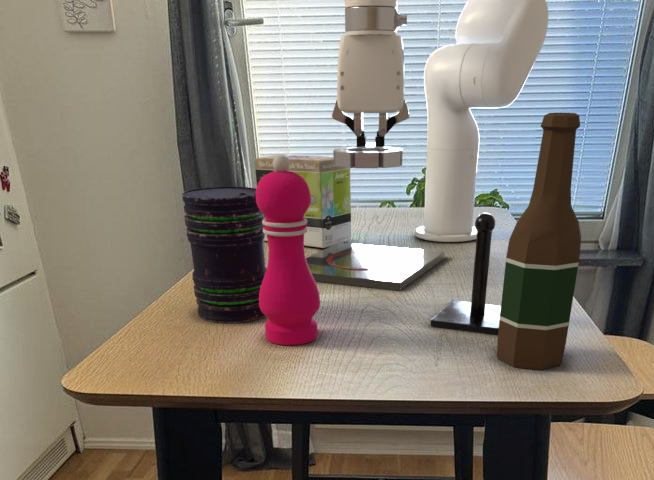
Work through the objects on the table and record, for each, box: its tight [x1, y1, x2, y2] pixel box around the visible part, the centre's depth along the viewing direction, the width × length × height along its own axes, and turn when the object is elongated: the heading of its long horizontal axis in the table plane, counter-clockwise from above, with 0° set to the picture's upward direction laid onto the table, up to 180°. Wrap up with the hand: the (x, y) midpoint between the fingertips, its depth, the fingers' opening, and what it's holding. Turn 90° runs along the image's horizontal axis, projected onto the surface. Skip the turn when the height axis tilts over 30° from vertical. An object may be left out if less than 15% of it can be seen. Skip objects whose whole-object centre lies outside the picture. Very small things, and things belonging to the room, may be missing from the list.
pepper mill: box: [256, 154, 321, 346], centre depth 76 cm, size 7×7×20 cm
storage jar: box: [181, 186, 267, 324], centre depth 86 cm, size 10×10×15 cm
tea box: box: [254, 153, 352, 249], centre depth 125 cm, size 15×10×15 cm
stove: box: [306, 242, 446, 292], centre depth 110 cm, size 22×20×1 cm
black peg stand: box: [429, 212, 501, 336], centre depth 83 cm, size 10×10×13 cm
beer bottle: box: [496, 112, 582, 371], centre depth 68 cm, size 8×8×24 cm
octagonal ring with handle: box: [332, 142, 404, 169], centre depth 101 cm, size 17×10×2 cm, turn 177°
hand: (370, 163), depth 106 cm, fingers closed on octagonal ring with handle, 1 cm apart
